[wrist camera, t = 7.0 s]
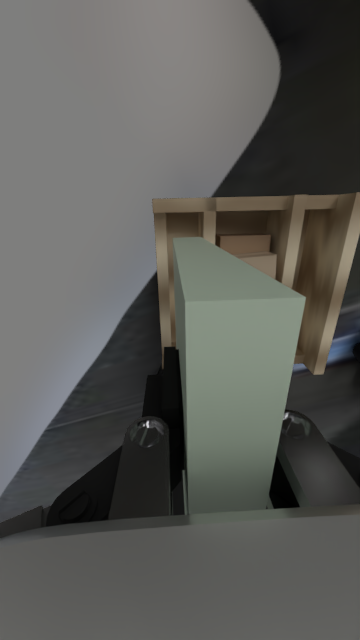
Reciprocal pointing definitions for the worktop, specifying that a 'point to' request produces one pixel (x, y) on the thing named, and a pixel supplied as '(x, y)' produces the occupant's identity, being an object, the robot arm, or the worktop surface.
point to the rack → (286, 242)
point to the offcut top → (260, 261)
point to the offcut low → (243, 242)
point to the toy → (357, 351)
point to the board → (231, 374)
